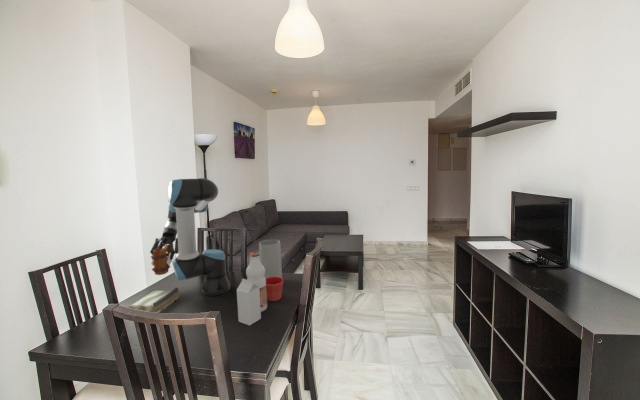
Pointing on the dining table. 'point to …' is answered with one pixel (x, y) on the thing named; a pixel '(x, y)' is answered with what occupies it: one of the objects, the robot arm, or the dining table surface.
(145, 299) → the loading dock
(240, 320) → the milk carton
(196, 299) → the dining table surface
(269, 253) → the cylinder vase
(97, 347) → the dining table surface
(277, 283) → the flower pot
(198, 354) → the dining table surface
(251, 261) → the fruit juice
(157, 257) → the mug
